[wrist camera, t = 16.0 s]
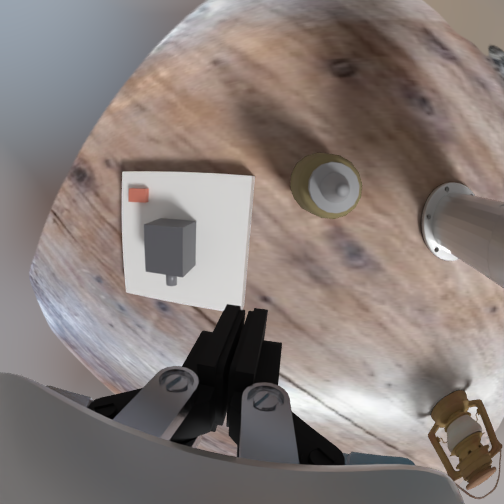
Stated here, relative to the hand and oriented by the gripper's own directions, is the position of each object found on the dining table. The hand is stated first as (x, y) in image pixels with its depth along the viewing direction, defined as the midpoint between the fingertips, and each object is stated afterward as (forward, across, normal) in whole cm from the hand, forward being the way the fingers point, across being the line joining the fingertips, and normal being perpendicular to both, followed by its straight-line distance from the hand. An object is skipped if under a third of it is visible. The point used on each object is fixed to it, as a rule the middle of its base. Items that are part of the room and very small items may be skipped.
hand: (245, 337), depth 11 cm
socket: (+29, +14, +4) cm, 33 cm away
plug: (+29, +14, +5) cm, 33 cm away
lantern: (+29, -48, +38) cm, 68 cm away
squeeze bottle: (+29, -5, -6) cm, 30 cm away
